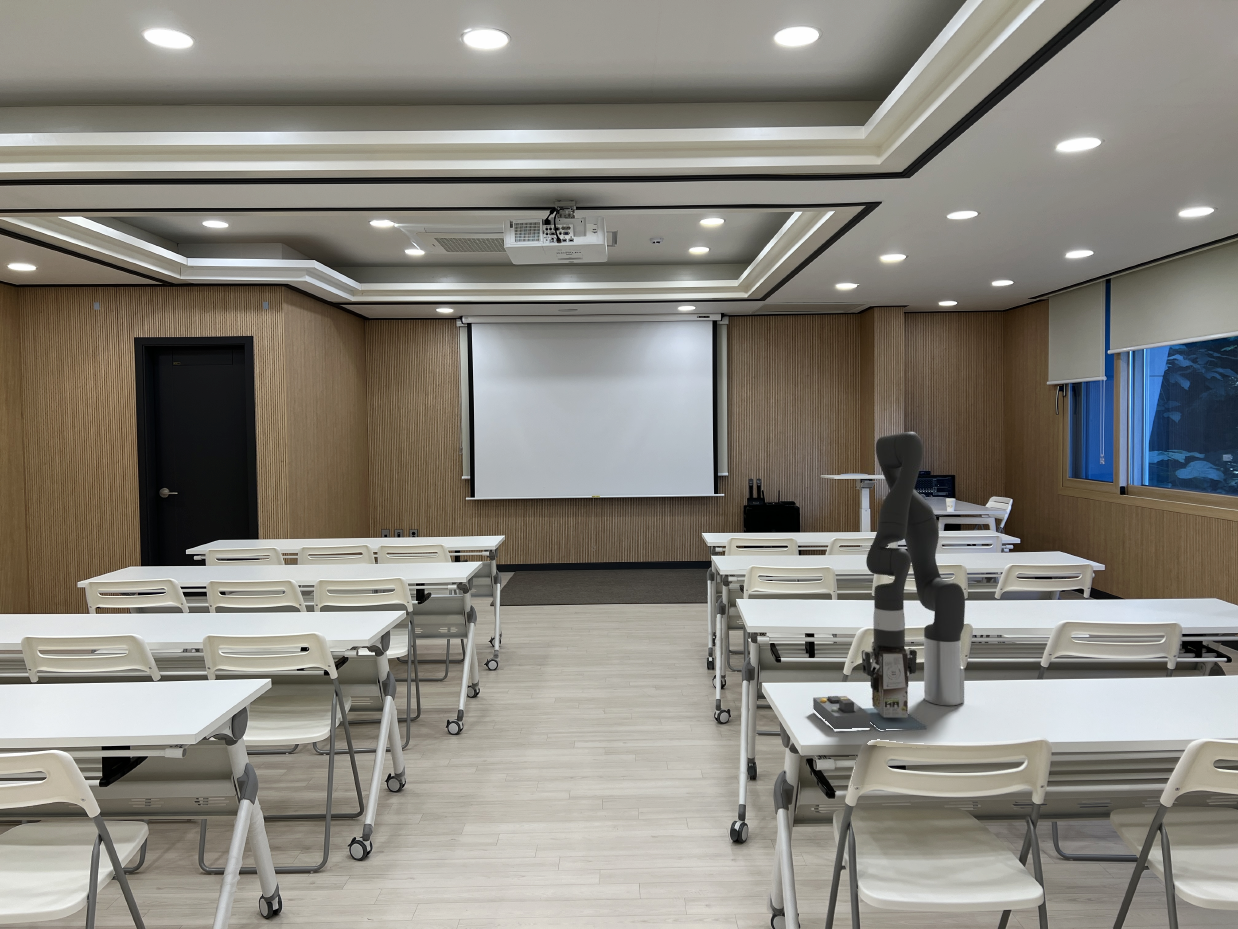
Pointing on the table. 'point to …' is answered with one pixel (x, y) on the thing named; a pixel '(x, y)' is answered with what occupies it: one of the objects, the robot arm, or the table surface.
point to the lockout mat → (893, 721)
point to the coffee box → (892, 684)
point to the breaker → (846, 705)
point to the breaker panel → (841, 714)
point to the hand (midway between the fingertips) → (889, 690)
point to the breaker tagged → (833, 699)
